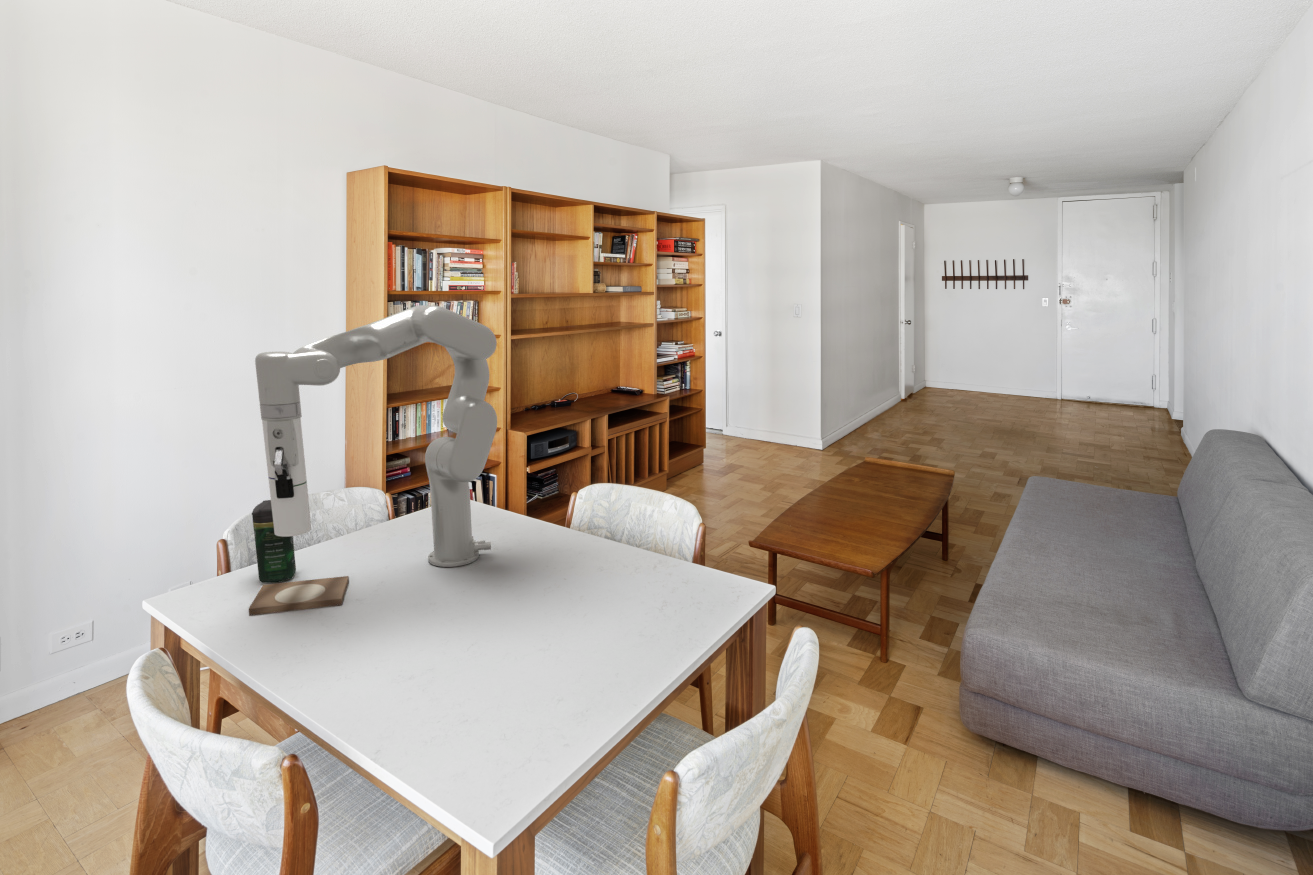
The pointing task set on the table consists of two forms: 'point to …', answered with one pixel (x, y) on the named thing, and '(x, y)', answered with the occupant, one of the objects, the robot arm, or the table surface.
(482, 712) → the table surface
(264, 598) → the walnut board
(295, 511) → the cylindrical container
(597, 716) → the table surface
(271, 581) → the coffee jar
